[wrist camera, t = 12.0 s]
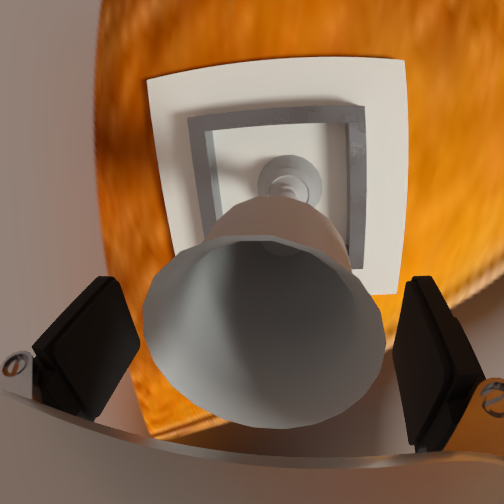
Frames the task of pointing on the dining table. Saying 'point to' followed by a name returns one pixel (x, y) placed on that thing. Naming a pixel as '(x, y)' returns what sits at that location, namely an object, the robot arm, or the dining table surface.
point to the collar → (349, 115)
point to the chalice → (267, 311)
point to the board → (291, 144)
